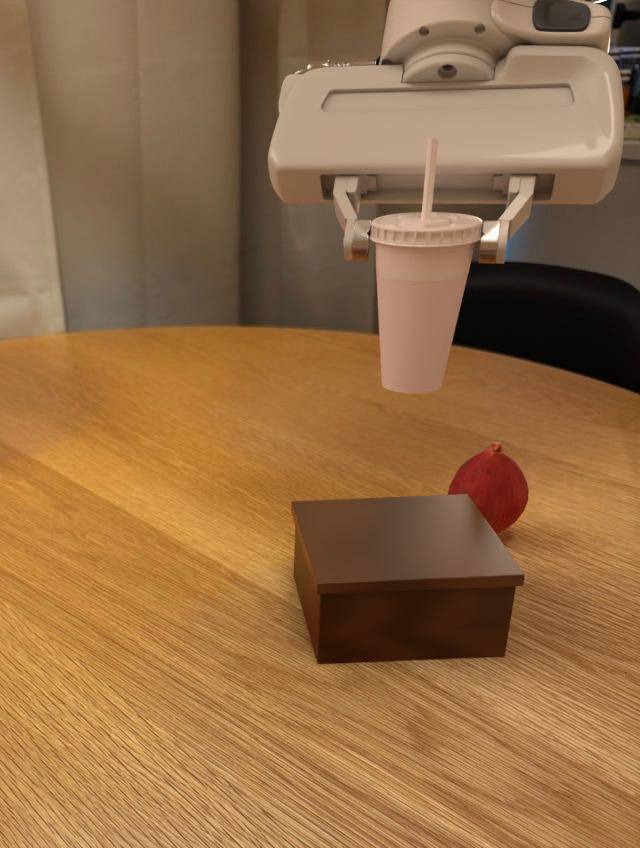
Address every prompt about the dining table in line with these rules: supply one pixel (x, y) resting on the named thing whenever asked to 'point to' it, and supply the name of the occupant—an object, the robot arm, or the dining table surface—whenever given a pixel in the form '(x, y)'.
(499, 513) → the onion
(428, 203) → the smoothie
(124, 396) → the dining table surface
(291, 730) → the dining table surface
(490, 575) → the walnut box
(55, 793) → the dining table surface
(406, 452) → the dining table surface
